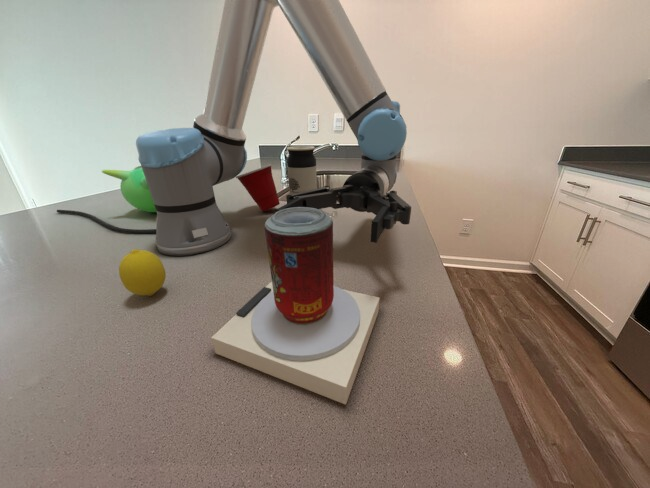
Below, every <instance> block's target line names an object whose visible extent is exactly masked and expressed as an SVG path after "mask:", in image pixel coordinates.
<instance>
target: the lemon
mask: <svg viewBox="0 0 650 488" xmlns="http://www.w3.org/2000/svg"><path fill="white" fill-rule="evenodd" d="M118 273H119V275H118V276H119V279H120V281H121V283H122V285H123V286H124V288H125V289H126V290H127V291H128V292H130V293H131V294H134V295H137V296H150V297H151V296H153V295H155V294H156V292H158V291H159V290H160V289H161V288H162V287H163V285H164V284H165V281H166V276H167V275H166V270H165V266H164V264H163V262H162V260H161V259H160V258H159V256H158V255H156V254H155V253H154V252H151V251H148V250H145V249H137V248H134V249H132V250H131V251H130V252H128V253H127V254H126V255H125V256H124V257H123V258H121V261H120V263H119V265H118Z"/></svg>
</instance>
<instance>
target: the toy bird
mask: <svg viewBox="0 0 650 488" xmlns="http://www.w3.org/2000/svg"><path fill="white" fill-rule="evenodd" d="M101 173H103V174H105V175H107V176H110V177H112V178H115V179H119V180H121V181H120V187H119V188H120V192H121V195H122V197H123V198H124V199H125V201H126V202H127V203H128V204H129V205H131V206H132V207H134V208H136V209H138V210H140V211H142V212H143V211H144V212H148V213H157V212H156V208H155V205H154V202H153V199H152V196H151V193H150V190H149V187H148V184H147V181H146V178H145V175H144V172H143V169H142V166H141V165H139V166H136V167H134V168H131V169H130V170H121V169H102V170H101Z"/></svg>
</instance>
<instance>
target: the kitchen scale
mask: <svg viewBox="0 0 650 488" xmlns="http://www.w3.org/2000/svg"><path fill="white" fill-rule="evenodd" d="M379 310H380V297H379V296H374V295H370V294H365V293H361V292H356V291H351V290H347V289H344V288H341V287H338V286H336V285H334V297H333V302H332V304H331V306H330V308H329V309H328V312H327V314H326V316H325V317H324V318H323V319H322V320H320V321H318V322H316V323H314V324H310V325H296V324H292V323H290V322H288V321H287V320H286V319H285V318H284V317H283V314H282V313H281V312H280V311H279V310H278V309H277V307H276V304H275V300H274V292H273V285H272V280H271V281H270V282H269V283H268V284H267V285H266V286H263V287H262V288H261V289H260V290H259V291H258V292H257V293H256V294H255V295H254V296H253V297H251V298H250V299H249V300H248V301H247V302H246V303H245V304H244V305H243V306H242V307H241V308H239V310H237V312H236V313H235V315H234V316H232V318H230V319H229V320H228V321H227V322H226V323H225V324H224V325H222V327H221V328H220V329H219V330H218V331H216V332H215V333H214V334H213V335H212V336H211V338H210V339H211V342H212V347H213V349H214V352H215V355H218V356H221V357H224V358H226V359H229V360H232V361H234V362H236V363H239V364H242V365H244V366H246V367H248V368H251V369H254V370H257V371H259V372H261V373H264V374H267V375H269V376H272V377H273V378H276V379H279V380H281V381H285V382H286V383H290V384H291V385H294V386H297V387H300V388H302V389H305V390H307V391H310V392H312V393H315V394H317V395H320V396H322V397H325V398H327V399H329V400H332V401H334V402H338V403H340V404H343V405H345V406H346V405H347V403H348V400H349V397H350V394H351V391H352V389H353V387H354V383H355V380H356V377H357V375H358V371H359V369H360V366H361V364H362V360H363V357H364V355H365V352H366V349H367V346H368V343H369V340H370V337H371V334H372V332H373V328H374V326H375V323H376V320H377V318H378V315H379V312H380V311H379Z"/></svg>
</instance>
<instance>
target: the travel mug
mask: <svg viewBox="0 0 650 488" xmlns="http://www.w3.org/2000/svg"><path fill="white" fill-rule="evenodd" d="M315 149H316V147H315V146H312V145H295V146H294V145H293V146H288V147H286V150H287V153H288V156H287V158H286V159H287V160H286V166H287V167H286V168H287V178H288V189H289V190H288V191H289V194H294V193H298V192H303V191H308V190H312V189H317V188H318V178H317V177H318V176H317V158H316V157H315V155H314V151H315Z"/></svg>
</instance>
